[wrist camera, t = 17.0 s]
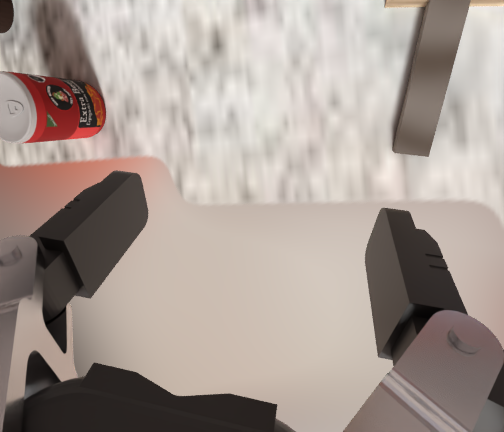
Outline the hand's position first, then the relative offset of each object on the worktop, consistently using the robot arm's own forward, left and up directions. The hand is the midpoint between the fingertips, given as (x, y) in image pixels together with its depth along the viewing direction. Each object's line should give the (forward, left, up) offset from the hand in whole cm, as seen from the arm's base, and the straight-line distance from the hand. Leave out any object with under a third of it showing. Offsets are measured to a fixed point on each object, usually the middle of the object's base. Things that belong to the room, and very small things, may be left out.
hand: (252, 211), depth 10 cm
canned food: (-30, -16, -27) cm, 44 cm away
